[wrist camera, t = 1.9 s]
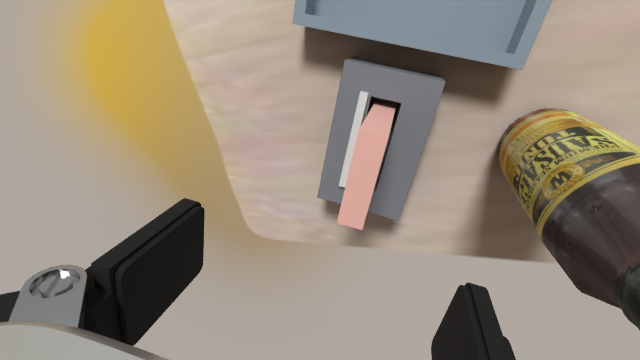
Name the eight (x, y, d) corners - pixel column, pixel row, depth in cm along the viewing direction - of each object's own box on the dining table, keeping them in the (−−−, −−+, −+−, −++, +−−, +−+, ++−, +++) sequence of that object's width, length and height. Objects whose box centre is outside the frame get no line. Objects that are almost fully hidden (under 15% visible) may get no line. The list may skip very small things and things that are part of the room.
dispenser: (442, 76, 24) (447, 82, 21) (400, 202, 29) (399, 223, 26) (351, 57, 26) (342, 60, 22) (325, 181, 30) (315, 199, 27)
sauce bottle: (541, 87, 23) (957, 240, 5) (609, 139, 23) (1223, 447, 6) (472, 155, 26) (598, 393, 9) (533, 200, 26) (779, 525, 9)
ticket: (396, 103, 26) (388, 136, 17) (377, 170, 28) (362, 230, 19) (377, 98, 26) (358, 129, 17) (359, 165, 28) (336, 222, 20)
